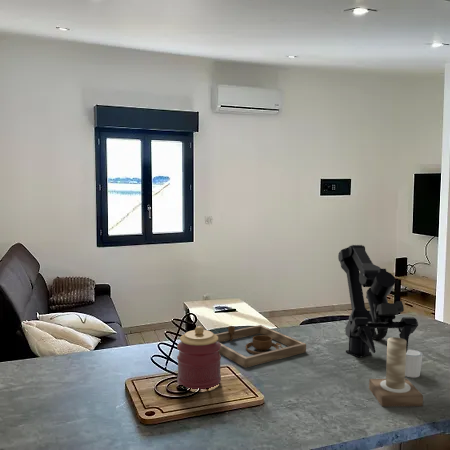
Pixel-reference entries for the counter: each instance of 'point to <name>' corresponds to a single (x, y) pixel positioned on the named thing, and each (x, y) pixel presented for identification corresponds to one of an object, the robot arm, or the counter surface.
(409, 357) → the white short cylinder
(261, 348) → the place setting
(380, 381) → the walnut plinth
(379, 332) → the controller
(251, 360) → the oak tray rim
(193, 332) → the canister
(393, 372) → the birch pillar
